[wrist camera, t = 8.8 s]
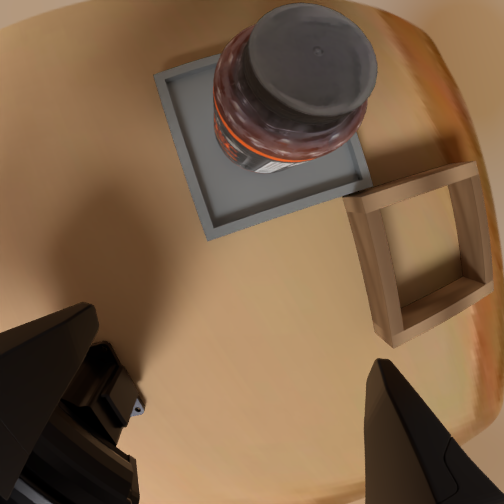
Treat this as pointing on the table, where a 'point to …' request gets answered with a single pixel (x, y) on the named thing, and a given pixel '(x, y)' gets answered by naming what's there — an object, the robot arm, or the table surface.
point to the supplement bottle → (291, 87)
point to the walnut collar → (380, 263)
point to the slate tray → (234, 177)
